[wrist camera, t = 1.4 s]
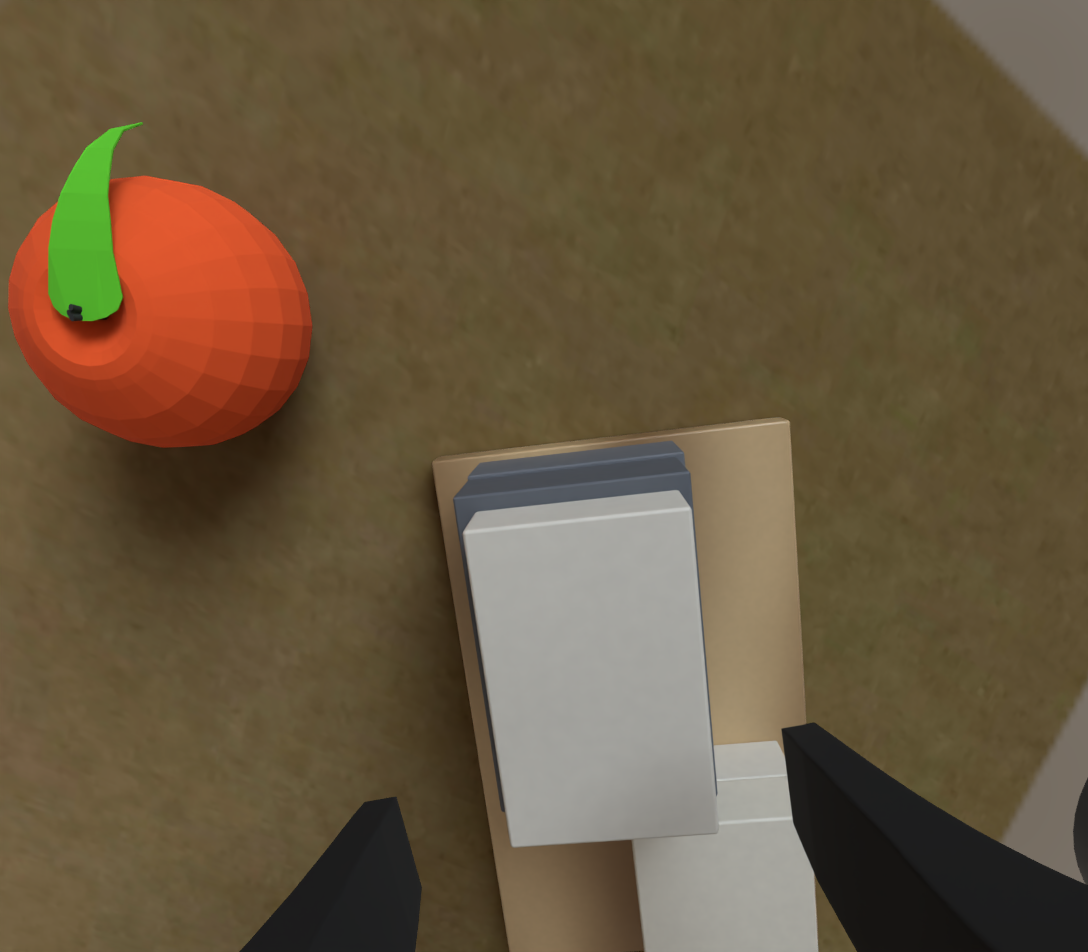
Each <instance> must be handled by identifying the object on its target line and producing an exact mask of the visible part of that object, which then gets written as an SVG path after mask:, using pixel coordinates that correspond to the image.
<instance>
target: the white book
mask: <svg viewBox="0 0 1088 952" xmlns="http://www.w3.org/2000/svg"><path fill="white" fill-rule="evenodd" d="M463 541H464V547H465V554H466V560H467V567H468V573H469V580H470V586H471V593H472V599H473V606H474V612H475V619H476V625H477V632H478V638H479V645H480V651H481V658H482V664H483V671H484V677H485V684H486V690H487V697H488V703H489V710H490V716H491V723H492V729H493V736H494V742H495V749H496V755H497V762H498V768H499V775H500V781H501V788H502V795H503V801H504V808H505V814H506V821H507V827H508V834H509V840H510V845H511V847H513V848H518V847H532V846H547V845H562V844H576V843H591V842H606V841H620V840H635V839H650V838H664V837H679V836H694V835H708V834H717V833H718V831H719V824H718V812H717V800H716V788H715V777H714V765H713V753H712V742H711V730H710V718H709V706H708V695H707V683H706V671H705V660H704V648H703V636H702V624H701V613H700V601H699V589H698V578H697V566H696V554H695V542H694V531H693V519H692V510H691V508H690V506H689V505H688V503H687V502H686V500H685V499H684V497H683V496H682V494H681V493H680V492H679V491H678V490H671V491H662V492H653V493H644V494H635V495H625V496H616V497H607V498H598V499H589V500H580V501H571V502H561V503H552V504H543V505H534V506H525V507H516V508H506V509H497V510H488V511H479V512H476V513H475V514H474V515H473V517H472V518H471V520H470V522H469V523H468V525H467V526H466V528H465V529H464V531H463Z"/></svg>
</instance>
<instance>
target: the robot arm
mask: <svg viewBox="0 0 1088 952" xmlns="http://www.w3.org/2000/svg"><path fill="white" fill-rule="evenodd" d="M781 731H782V739H783V746H784V754H785V762H786V770H787V778H788V786H789V794H790V802H791V810H792V818H793V824H794V827H795V829H796V831H797V834H798V836H799V839H800V841H801V843H802V846H803V848H804V851H805V853H806V855H807V858H808V860H809V862H810V864H811V867H812V869H813V871H814V874H815V876H816V878H817V880H818V882H819V884H820V886H821V888H822V890H823V891H824V893H825V895H826V897H827V899H828V900H829V902H830V904H831V906H832V908H833V909H834V911H835V913H836V915H837V916H838V918H839V920H840V922H841V924H842V925H843V927H844V929H845V931H846V933H847V934H848V936H849V938H850V940H851V941H852V943H853V945H854V947H855V948H856V950H857V952H1088V885H1086V884H1084V883H1081V882H1079V881H1077V880H1074V879H1072V878H1070V877H1068V876H1065V875H1063V874H1061V873H1059V872H1057V871H1055V870H1053V869H1051V868H1049V867H1046V866H1044V865H1042V864H1040V863H1038V862H1036V861H1034V860H1032V859H1030V858H1028V857H1026V856H1024V855H1023V854H1021V853H1019V852H1017V851H1015V850H1013V849H1011V848H1009V847H1007V846H1005V845H1003V844H1001V843H999V842H997V841H995V840H993V839H992V838H990V837H988V836H986V835H984V834H983V833H981V832H979V831H977V830H975V829H974V828H972V827H970V826H968V825H967V824H965V823H963V822H962V821H960V820H958V819H957V818H955V817H953V816H952V815H950V814H948V813H947V812H945V811H943V810H942V809H940V808H938V807H936V806H935V805H933V804H932V803H930V802H928V801H927V800H925V799H924V798H922V797H921V796H919V795H917V794H916V793H914V792H913V791H911V790H910V789H908V788H907V787H905V786H904V785H902V784H901V783H899V782H898V781H896V780H895V779H893V778H892V777H890V776H889V775H887V774H886V773H884V772H883V771H882V770H880V769H879V768H877V767H876V766H874V765H873V764H872V763H870V762H869V761H867V760H866V759H865V758H863V757H862V756H860V755H859V754H858V753H856V752H855V751H853V750H852V749H851V748H849V747H848V746H846V745H845V744H844V743H842V742H841V741H840V740H838V739H837V738H835V737H834V736H833V735H831V734H830V733H828V732H827V731H826V730H824V729H823V728H821V727H820V726H819V725H817V724H816V723H810V724H804V725H798V726H793V727H787V728H781ZM421 889H422V887H421V883H420V880H419V876H418V873H417V869H416V865H415V862H414V858H413V855H412V851H411V847H410V844H409V840H408V837H407V833H406V830H405V826H404V822H403V819H402V815H401V812H400V808H399V804H398V801H397V797H391V798H385V799H380V800H374V801H368V802H364V803H363V805H362V806H361V807H360V808H359V809H358V810H357V812H356V813H355V814H354V815H353V817H352V818H351V819H350V820H349V822H348V823H347V824H346V825H345V827H344V828H343V829H342V831H341V832H340V833H339V834H338V836H337V837H336V838H335V839H334V841H333V842H332V843H331V845H330V846H329V847H328V848H327V850H326V851H325V852H324V853H323V855H322V856H321V857H320V858H319V860H318V861H317V862H316V863H315V865H314V866H313V867H312V868H311V870H310V871H309V872H308V873H307V874H306V876H305V877H304V878H303V879H302V881H301V882H300V883H299V884H298V886H297V887H296V888H295V889H294V890H293V892H292V893H291V894H290V895H289V896H288V898H287V899H286V900H285V901H284V902H283V903H282V904H281V905H280V907H279V908H278V909H277V910H276V911H275V912H274V913H273V915H272V916H271V917H270V918H269V919H268V920H267V921H266V923H265V924H264V925H263V926H262V927H261V928H260V929H259V931H258V932H257V933H256V934H255V935H254V936H253V937H252V939H251V940H250V941H249V942H248V943H247V944H246V945H245V946H244V947H243V948H242V949H241V951H240V952H415V948H416V939H417V931H418V922H419V911H420V900H421Z"/></svg>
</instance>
